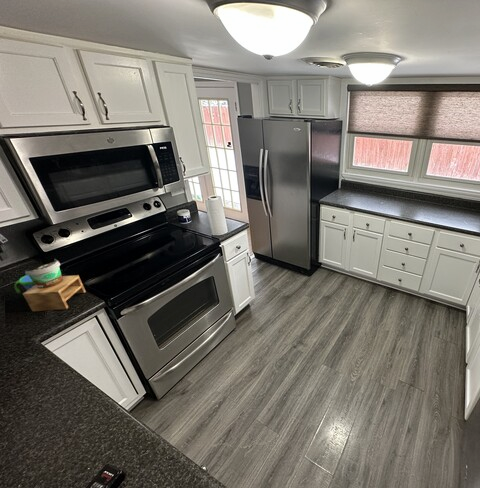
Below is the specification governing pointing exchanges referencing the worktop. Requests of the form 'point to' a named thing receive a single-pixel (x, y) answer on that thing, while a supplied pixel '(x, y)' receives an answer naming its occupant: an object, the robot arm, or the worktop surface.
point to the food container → (46, 275)
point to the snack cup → (25, 283)
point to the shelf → (54, 294)
